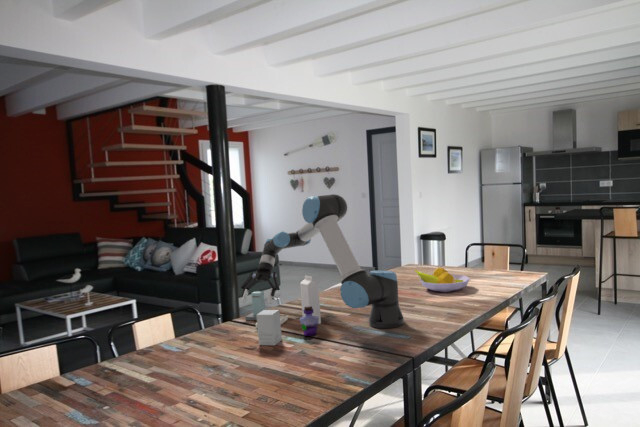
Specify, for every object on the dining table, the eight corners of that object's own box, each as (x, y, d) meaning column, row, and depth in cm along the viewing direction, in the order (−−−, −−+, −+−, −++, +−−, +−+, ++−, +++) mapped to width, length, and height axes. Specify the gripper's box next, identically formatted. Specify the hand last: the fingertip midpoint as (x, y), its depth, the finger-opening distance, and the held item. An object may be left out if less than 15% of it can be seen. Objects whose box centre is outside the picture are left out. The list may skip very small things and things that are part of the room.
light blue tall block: (257, 312, 237) (255, 290, 237) (265, 312, 236) (263, 290, 235) (253, 315, 233) (251, 293, 232) (261, 315, 232) (259, 293, 231)
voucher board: (268, 319, 230) (267, 314, 230) (287, 319, 227) (287, 314, 227) (255, 328, 216) (255, 323, 216) (276, 328, 213) (275, 323, 213)
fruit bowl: (475, 285, 269) (474, 265, 268) (461, 296, 246) (459, 274, 245) (427, 282, 284) (426, 263, 283) (409, 293, 261) (408, 272, 260)
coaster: (254, 314, 241) (254, 311, 241) (272, 314, 238) (272, 311, 238) (245, 319, 231) (245, 316, 231) (264, 320, 228) (264, 317, 228)
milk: (310, 326, 212) (306, 277, 211) (302, 324, 217) (298, 276, 216) (321, 323, 216) (317, 275, 215) (313, 321, 221) (309, 273, 219)
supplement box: (282, 339, 197) (280, 309, 196) (275, 346, 190) (272, 314, 189) (266, 339, 199) (263, 309, 199) (258, 345, 192) (255, 314, 192)
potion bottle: (296, 337, 199) (294, 308, 198) (304, 330, 207) (302, 303, 206) (316, 338, 196) (314, 309, 195) (323, 331, 204) (321, 303, 203)
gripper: (291, 269, 244) (282, 306, 231) (247, 270, 252) (236, 305, 238) (286, 260, 239) (277, 297, 225) (241, 262, 246) (230, 297, 233)
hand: (256, 302), depth 232 cm, fingers open, 13 cm apart
